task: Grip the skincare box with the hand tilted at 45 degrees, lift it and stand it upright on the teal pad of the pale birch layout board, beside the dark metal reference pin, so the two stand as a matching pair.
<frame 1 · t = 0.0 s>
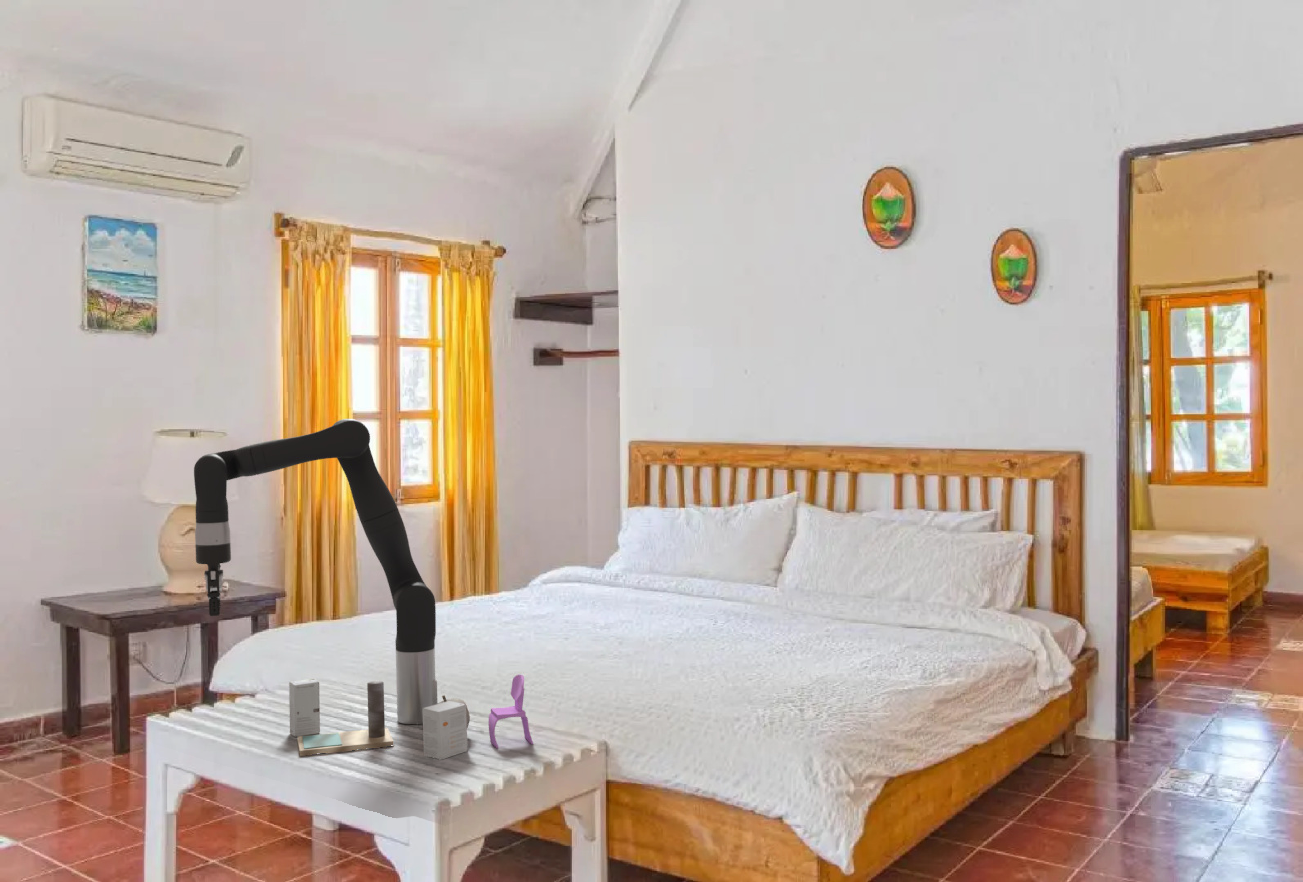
hand: (215, 612, 277), 29 cm above the table, tool pointing down, fingers open, 8 cm apart
skincare box: (305, 734, 282), on the table
toy chair: (510, 743, 271), on the table
small box: (445, 754, 263), on the table
decorative object: (450, 739, 276), on the table
layout board: (345, 744, 272), on the table
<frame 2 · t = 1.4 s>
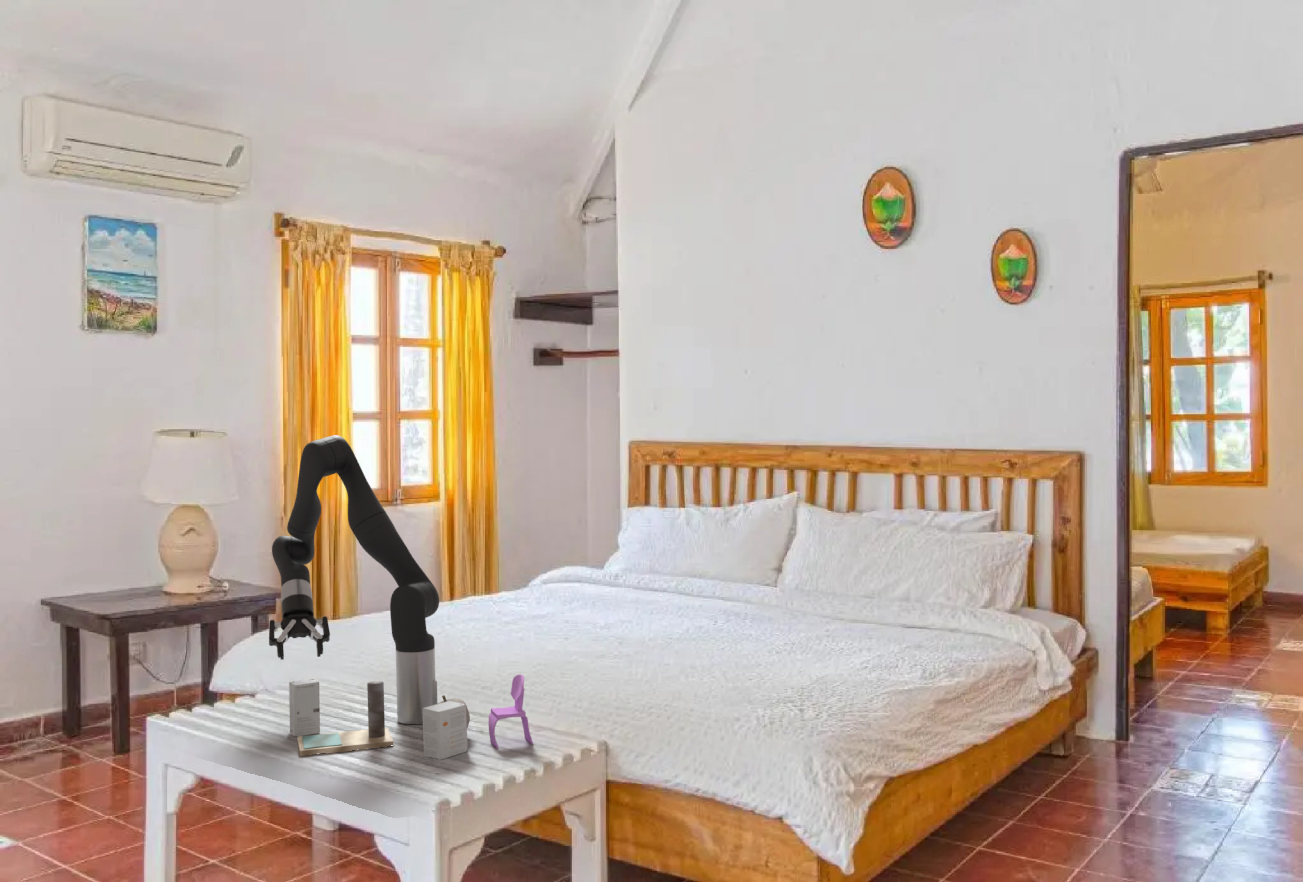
hand: (300, 656, 292), 16 cm above the table, tool tilted 45°, fingers open, 8 cm apart
nothing on the table moved.
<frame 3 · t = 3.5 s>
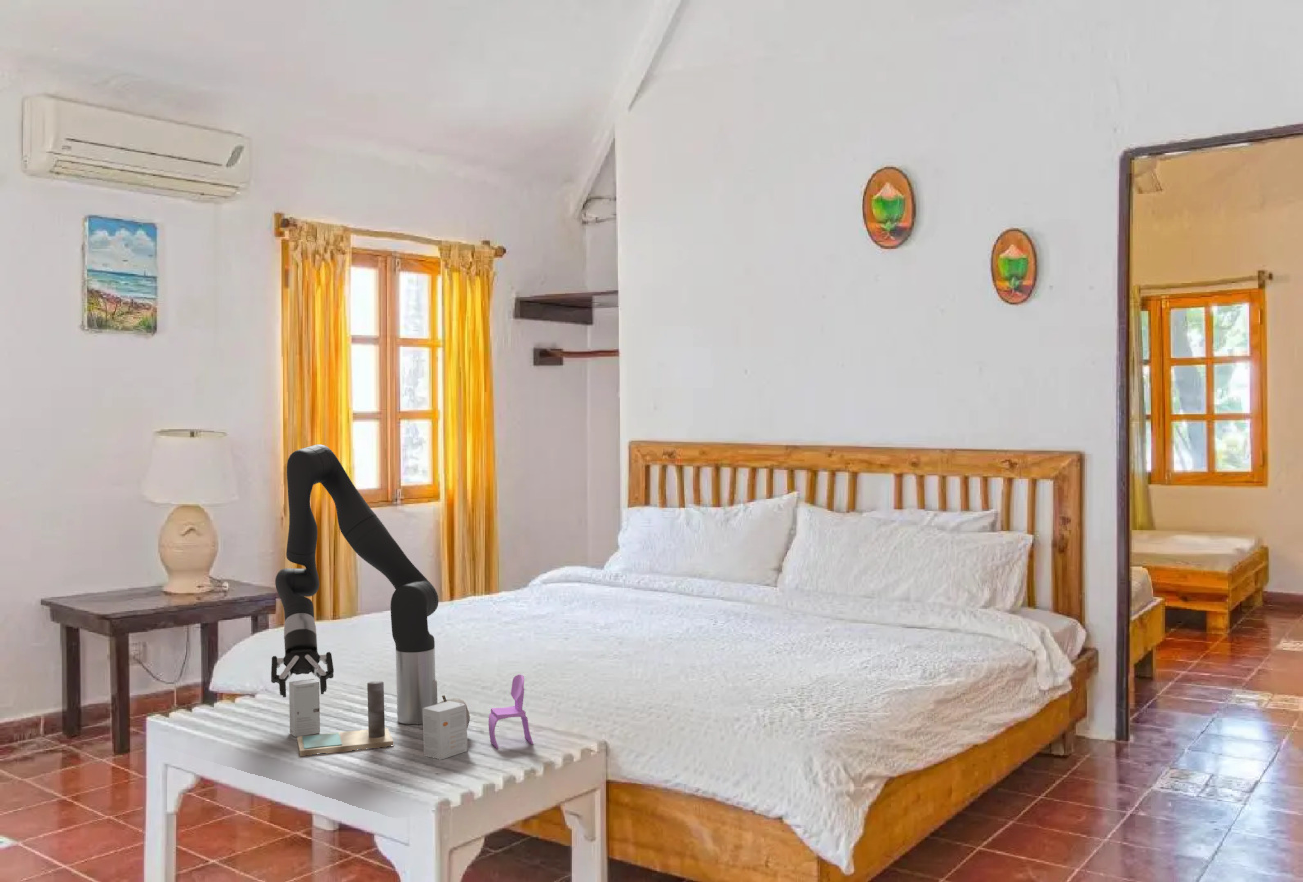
hand: (303, 694, 284), 9 cm above the table, tool tilted 45°, fingers open, 8 cm apart
nothing on the table moved.
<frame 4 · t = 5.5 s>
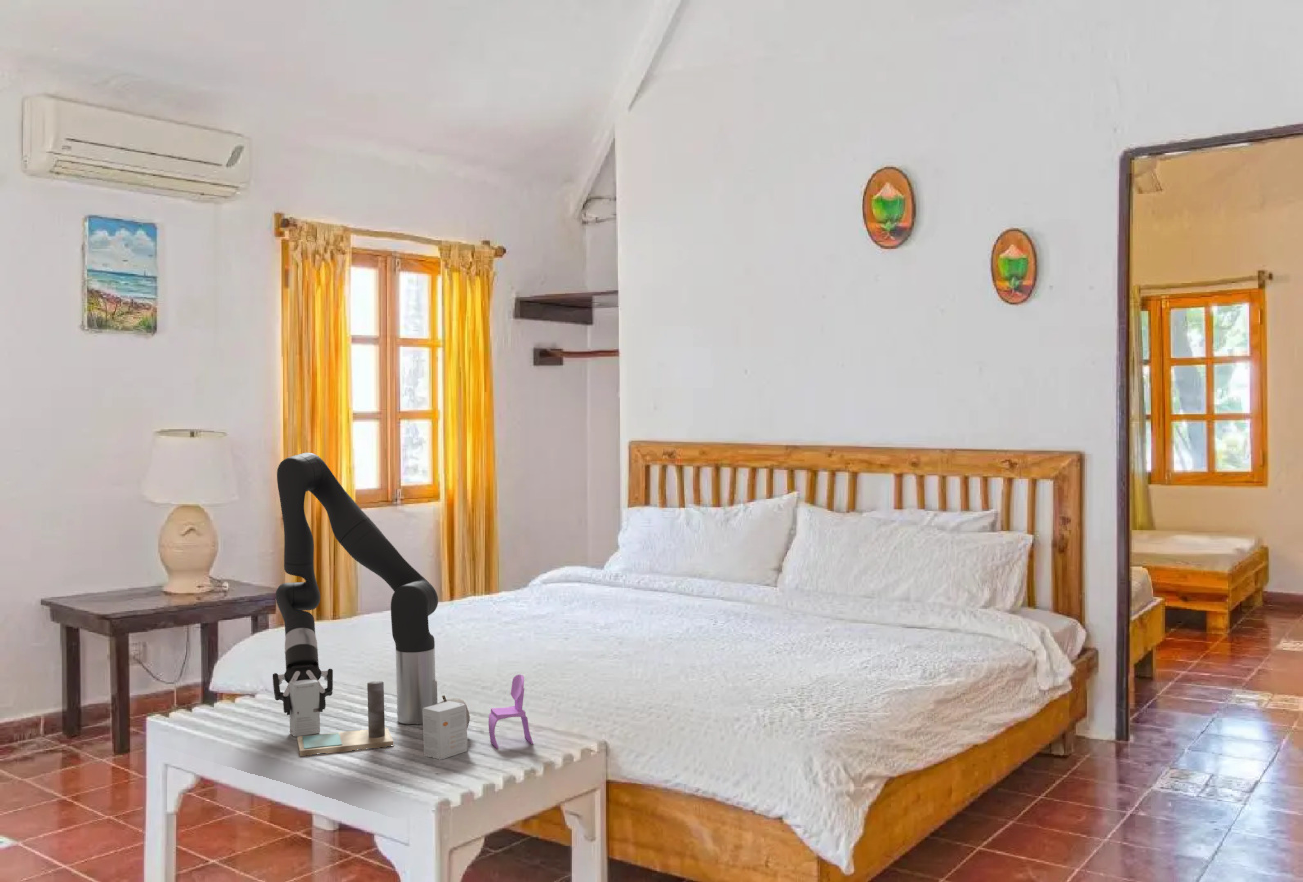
hand: (305, 711, 280), 5 cm above the table, tool tilted 45°, fingers closed on skincare box, 6 cm apart
skincare box: (305, 734, 282), on the table, touching gripper
everything else where it was.
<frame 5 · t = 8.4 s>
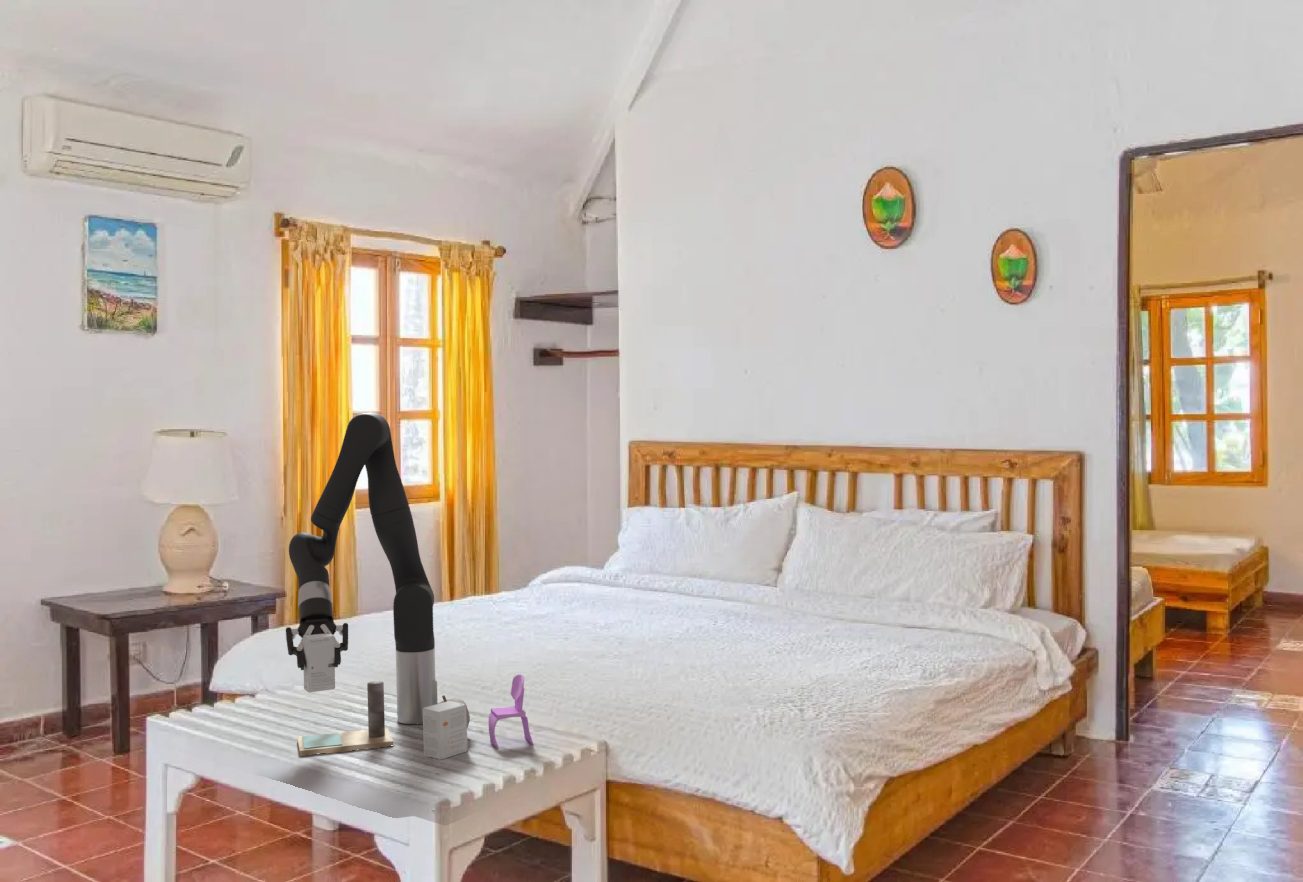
hand: (319, 666, 269), 18 cm above the table, tool tilted 45°, fingers closed on skincare box, 6 cm apart
skincare box: (320, 690, 271), point 13 cm above the table, touching gripper
everything else where it was.
when the fingers open (8 cm above the table, at t = 11.4 s): skincare box drops 1 cm, resting on layout board.
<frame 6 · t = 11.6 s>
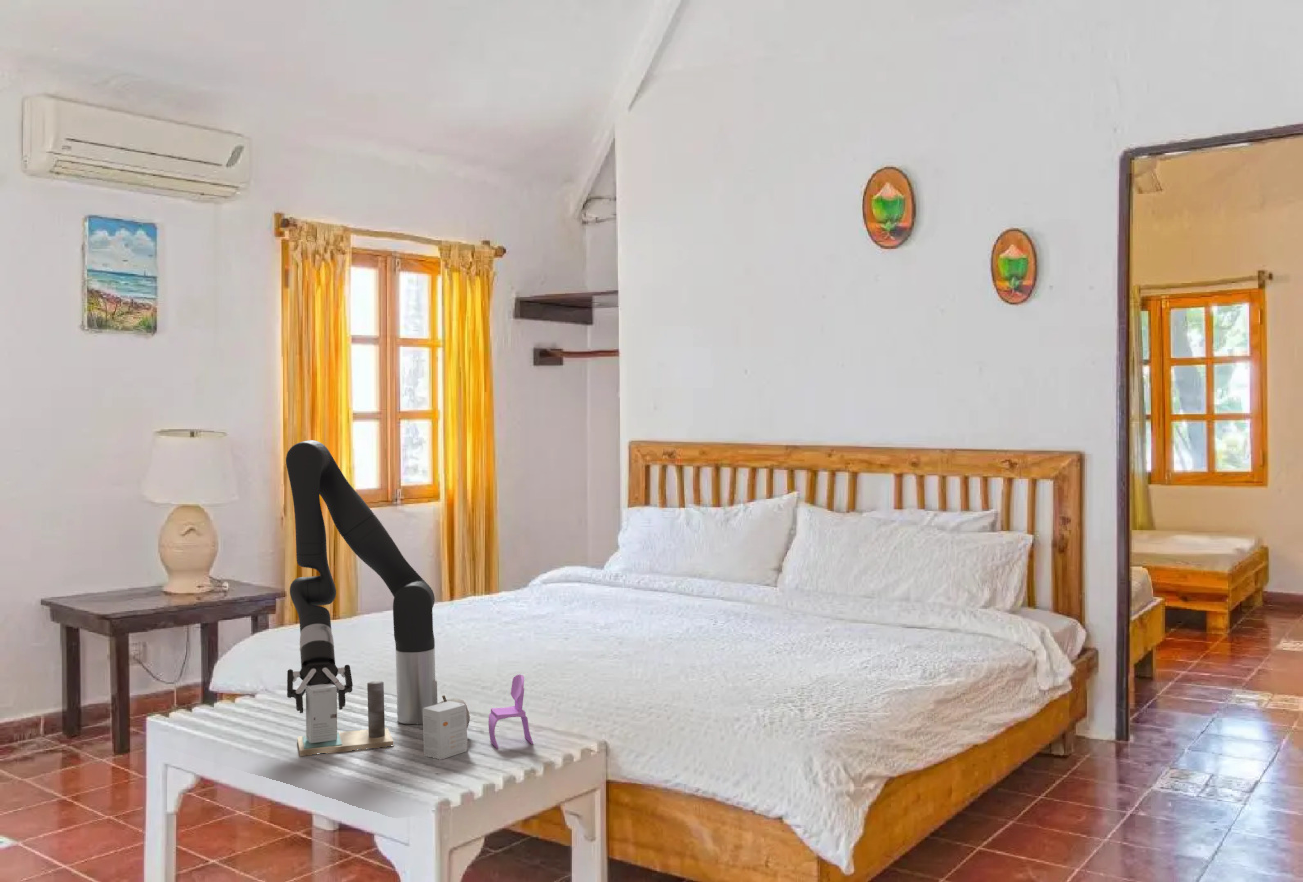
hand: (321, 709, 269), 9 cm above the table, tool tilted 45°, fingers open, 8 cm apart
skincare box: (322, 740, 271), point 1 cm above the table, touching layout board
everything else where it was.
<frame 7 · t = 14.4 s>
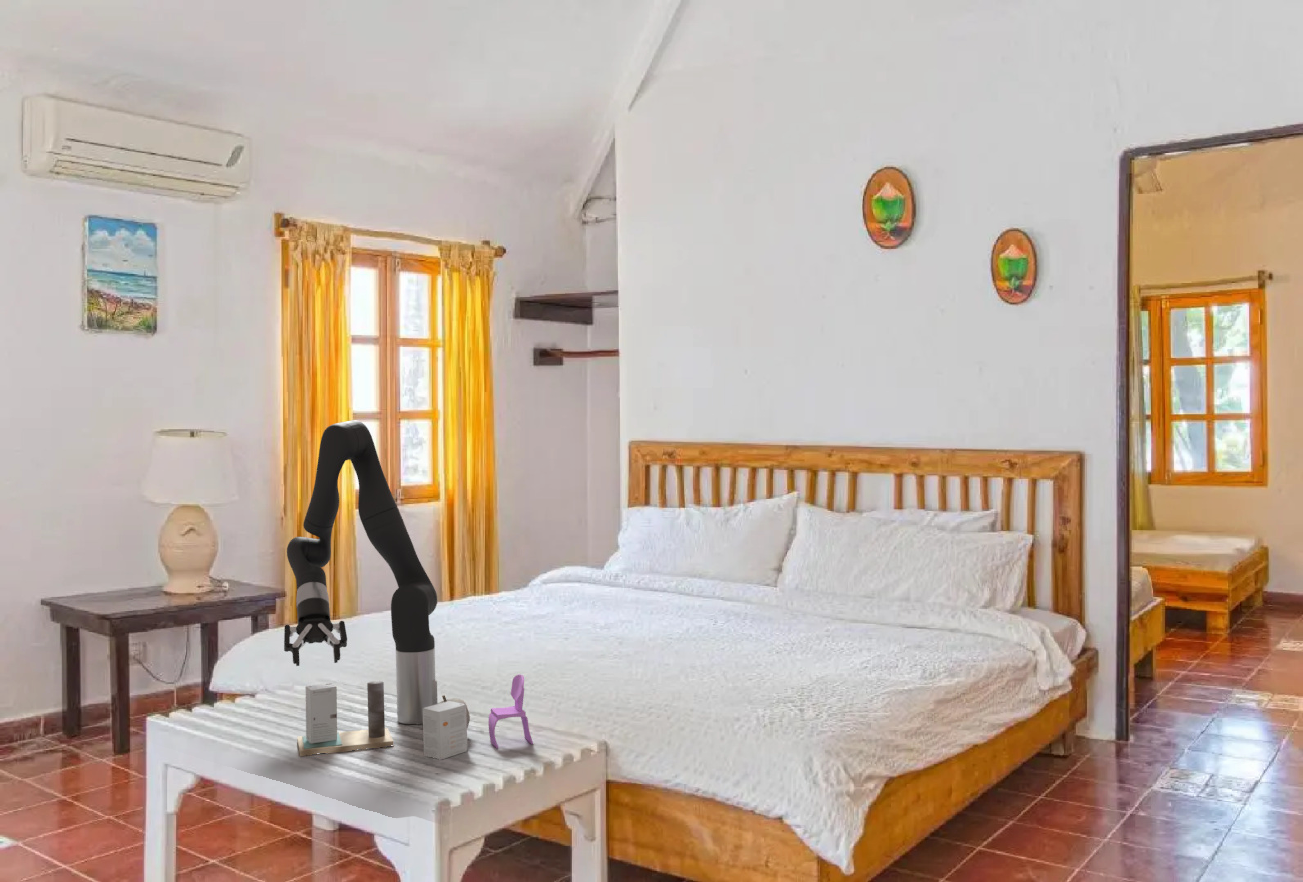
hand: (317, 662, 281), 17 cm above the table, tool tilted 45°, fingers open, 8 cm apart
nothing on the table moved.
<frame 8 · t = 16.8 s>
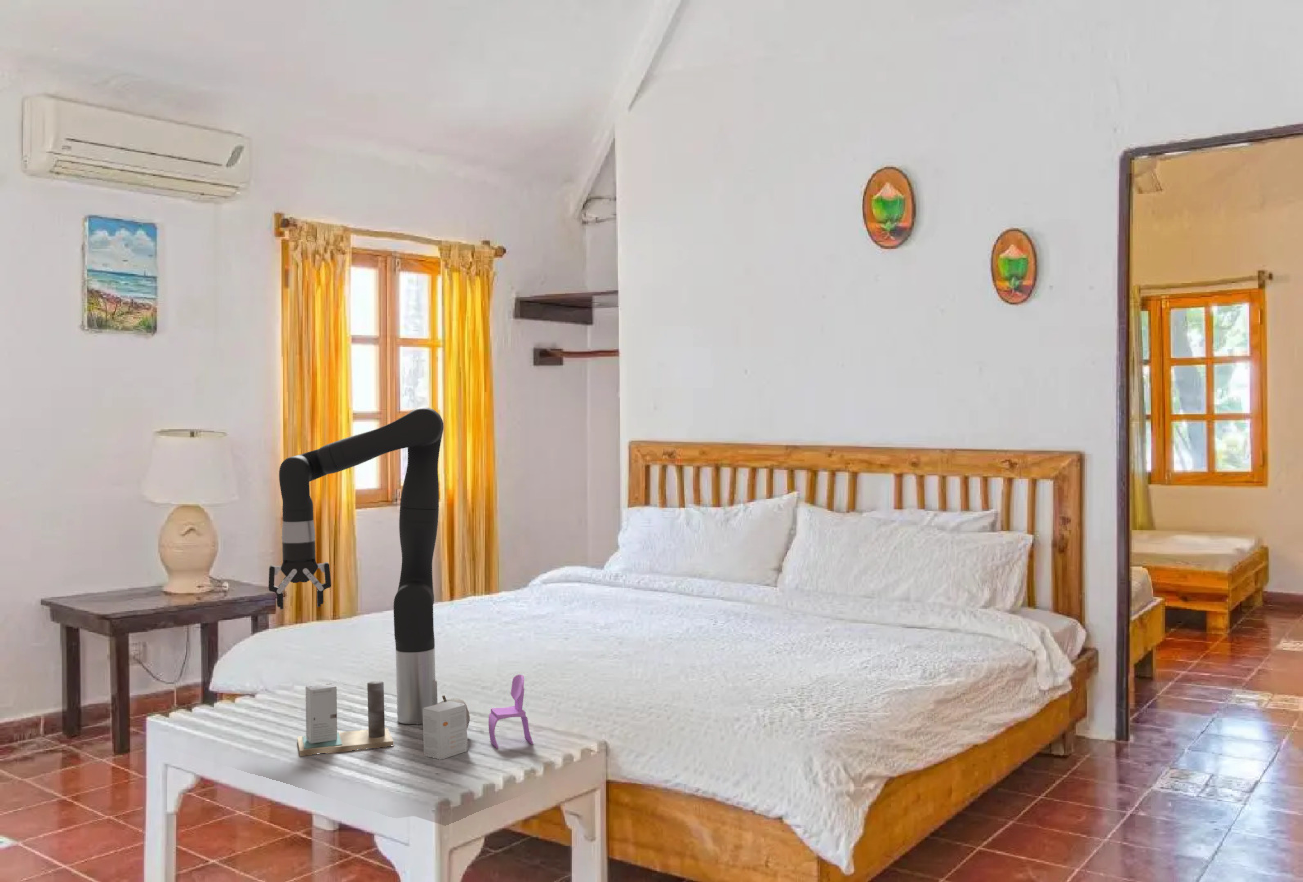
hand: (300, 607, 289), 28 cm above the table, tool pointing down, fingers open, 8 cm apart
nothing on the table moved.
at the end: skincare box 0.2 cm from the target spot on the layout board, point 1.2 cm above the layout board's base; skincare box tilted 0°; the gripper is holding nothing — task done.
